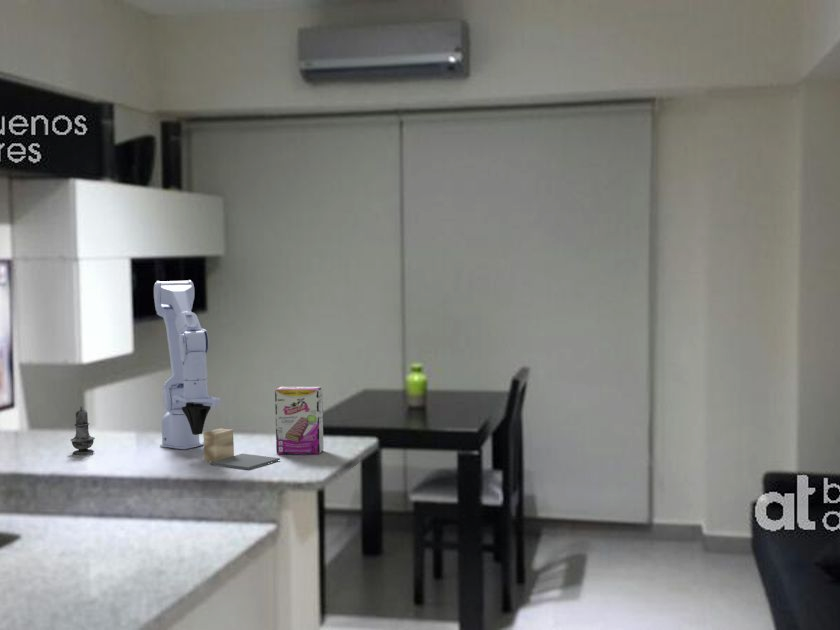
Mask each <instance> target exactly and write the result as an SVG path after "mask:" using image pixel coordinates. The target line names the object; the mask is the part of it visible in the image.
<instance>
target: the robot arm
mask: <svg viewBox="0 0 840 630" xmlns="http://www.w3.org/2000/svg"><path fill="white" fill-rule="evenodd" d="M195 294H196V293H195V286H194V282H193V281H192V280H191V279H188V280H169V281H168V280H167V281H160V280H156V282H155V283H154V285H153V299H154V307H155V311H156V315H158V316H159V317H161V318H163V321H164V322H163V323H164V325H165V329H166V336H167V337H166V339H167V345H168V346H167V347H168V353H169V361H170V370H171V376H170V377H169V378H168V379H167V380H165V382H164V383H163V385H162V403H163V408H164V411H166V413H165V414H164V415H163V417H162V419H161V440H162V441H161V443H162V444H161V443H160V444H159V447H161V448H169V449H170V448H172V449H177V450H188V449H189V450H190V449H193V448H196V447H200V446H204V441H200V435H203V431H204V427H205V422H206V419H207V416H208V414H209V412H210V411H211V408H218V407H221V398H220V397H215V396H214V397H213V396H209V395H208V394H209V392H208V368H207V366H208V365H207V354H208V353H209V346H210V342H209V341H210V339H209V335H208V334H209V333H208V330H207V329H205V328H203V327H202V326H201V324H200V320H199V317H198V315H197V314H196V313H195V312H192V310H193V304H194V301H195Z"/></svg>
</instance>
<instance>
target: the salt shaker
mask: <svg viewBox="0 0 840 630" xmlns="http://www.w3.org/2000/svg"><path fill="white" fill-rule="evenodd" d="M88 416H89V415H88V411H87V410H86V409H83V407H82V406H79V410H76V412H75V424H74V427H75V435H74V437H73V438H71V439H70V442H71V444H72V447H73V448H74V449H76V450H74V451H73V452H72V455H74V456H83V455H90V454H94V453H95V450H93V449H91V448H92V446H93V444H94V440H95V439H96V438H95V436H91V435H90V432H89V425H90V423H89V419H88Z"/></svg>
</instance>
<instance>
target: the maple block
mask: <svg viewBox="0 0 840 630" xmlns="http://www.w3.org/2000/svg"><path fill="white" fill-rule="evenodd" d="M202 435H203V442H204V445H203V458H204V462H209V463H210V462H213V461H217V460H221V459H224V458H228V457H232V456H235V449H234V447H235V446H234V443H235V441H234V429H229V428H217V429H213V430H209V431H204V432H202Z"/></svg>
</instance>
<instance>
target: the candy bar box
mask: <svg viewBox="0 0 840 630" xmlns="http://www.w3.org/2000/svg"><path fill="white" fill-rule="evenodd" d="M274 398H275V400H274V402H275V404H274V405H275V406H274V407H275V439H276V442H275V445H276V447H275V448H276V449H275V450H276V454H277V455H320V454H321V453H322V452H324V415H323V413H324V412H323V411H324V410H323V409H324V408H323V387H322V386H278V387H277V388H274Z"/></svg>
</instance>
